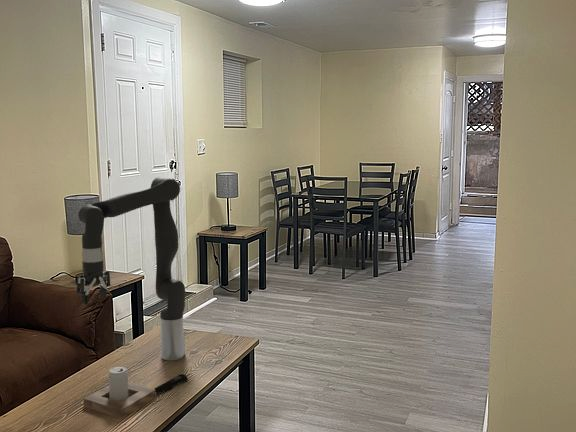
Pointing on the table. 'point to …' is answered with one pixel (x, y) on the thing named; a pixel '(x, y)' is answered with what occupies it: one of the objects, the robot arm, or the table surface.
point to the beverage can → (118, 384)
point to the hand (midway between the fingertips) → (94, 301)
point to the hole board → (119, 409)
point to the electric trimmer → (171, 383)
